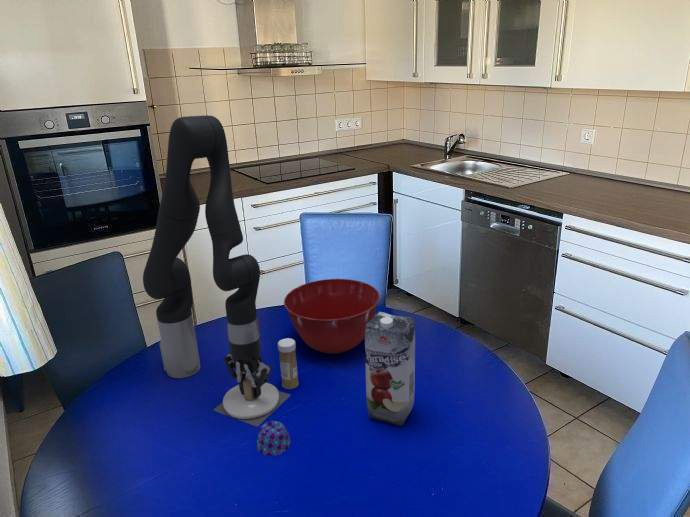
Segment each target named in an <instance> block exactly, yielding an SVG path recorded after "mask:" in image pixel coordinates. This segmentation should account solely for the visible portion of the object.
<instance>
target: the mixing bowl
mask: <svg viewBox="0 0 690 517" xmlns="http://www.w3.org/2000/svg"><path fill="white" fill-rule="evenodd" d="M380 296H381V295H380V292H379V290H378V289H376V287H375V286H373V285H371V284H369V283H367V282H364V281H360V280H355V279H347V278H329V279H326V278H325V279H321V280H314V281H310V282H307V283H304V284H301V285H299V286H297V287H295V288H293V289H291V291H290V292H288V293H287V294H286V296H285V297H284V299H283V305H284V308H285V309H286V310H287V313H288V316H289V318H290V321H291V324H292V325H293V327H294V329H295V330H296V332H297V333H298V335H299V337H300V338H301V339H302V340H303V342H304V343H305V344H306V345H307V346H308V347H309V348H311V349H313V350H315V351H318V352H321V353H322V354H323V353H325V354H341V353H344V352H348V351H351V350H352V349H354V348H355V347H357V346H358V345H359V344H361V343H362V341H363V340H365V325H366V324H367V323H368V322H369V321H370V320H371V319H372V318H373V317H374V316H375V314H376V313H377V312H376V311H377V308H378V304H379V301H380Z"/></svg>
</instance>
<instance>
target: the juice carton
mask: <svg viewBox="0 0 690 517" xmlns="http://www.w3.org/2000/svg"><path fill="white" fill-rule="evenodd" d="M415 326H416V322H415V318H414V317H413V316H412V317H411V316H399V315H393V314H389V313H387V312H383V311H377V312H375V315H374V317H373V318H372V319H371V320H370V321H369V322H368V323H367V324H366V325H365V338H364V352H365V353H364V354H365V389H366V390H365V393H366V394H365V395H366V398H365V399H366V405H367V406H366V407H367V412H368V417H369V418H370V419H373V420H375V421H376V420H377V421H379V422H383V423H384V422H385V423H388V424H391V425H394V426H399V427H403V425H404V424H405V421H406V420H407V418H408V417H409V415H410V413H411V411H412V409H413V406H414V403H415V388H416V386H415V384H416V383H415V380H416V378H415V377H416V375H415V373H416V369H415V368H416V366H415V365H416V331H415V329H416V328H415Z"/></svg>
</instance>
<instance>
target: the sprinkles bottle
mask: <svg viewBox="0 0 690 517" xmlns="http://www.w3.org/2000/svg"><path fill="white" fill-rule="evenodd" d="M296 346H297V344H296V340H294V339H293V338H289V337H287V338H283V339H279V341H278V342H277V349H278V353H279V365H280V366H279V367H280V375H281V383H282V384H281V386H282V387H283V388H284V389H286V390H292V389H295V388H297V387H298V386H299V378H298V364H297V355H296Z"/></svg>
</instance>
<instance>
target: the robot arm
mask: <svg viewBox="0 0 690 517" xmlns="http://www.w3.org/2000/svg"><path fill="white" fill-rule="evenodd" d="M226 136H227V135H226V133H225V128H224V126H223V124H222V122H221V121H220V120H219V119H218V118H217V117H216V116H214V115H208V114H207V115H190V116H181V117H177V118H176V119H175V120H174V121H173V122H172V124H171V126H170V130H169V134H168V144H167V157H166V170H165V176H164V181H163V182H164V184H163V190H162V195H161V198H160V203H159V209H158V213H157V219H156V220H157V221H156V225H155V226H156V227H155V231H154V235H153V241H152V244H151V248H150V252H149V255H148V258H147V260H146V264H145V267H144V270H143V272H142V273H143V274H142V285H143V288H144V289H143V290H145V293H146V294H147V295H148V297H150V298H152V299H153V300H162V301H161V302H160V303H159V305H158V306H157V307H156V311H155V314H156V321H157V326H158V329H159V330H158V331H159V337H160V341H159V348H160V354H161V358H162V363H163V370H164V371H165V372H166V374H167V376H169V377H170V378H172V379H173V378H174V379H184V378H189V377H191V376H193V375H196V374H197V373H198V372H199V371H200V369H201V362H200V355H199V349H198V343H197V335H196V329H195V323H194V318H193V311H192V309H193V304H194V300H193V288H192V279H191V274H190V270H189V268H188V266H187V265H186V263H185V262H184V261H183V260H182V258H179V257H178V256H179V254H180V252H181V251H183V249H184V247H185V246H186V245H187V244H188V242H189V240H190V239H191V238H192V236H193V234H194V232H195V230H196V227H197V223H198V220H199V216H200V210H201V203H200V200H199V197H198V195H197V193H196V191H195V189H194V187H193V184H192V183H191V179H190V178H191V171H192V170H191V169H192V166H193V164H194V163H193V162H194V161H195V160H196V159H198V160H199V159H205V158H206V160H207V162H208V166H209V172H210V173H209V175H210V181H209V187H208V192H207V196H206V201H205V206H204V208H205V210H204V212H205V213H204V214H205V215H204V216H205V221H206V225H207V229H208V231H209V232H208V233H209V237H210V239H211V245H212V276H213V281H214V283H215V285H216V286H217V287H218V288H219V289H220V290H221V291H223V292H230V291H234V290H236V291H235V292H233V293H232V294H230V295H229V296H227V297H226V300H225V303H224V304H225V305H224V306H225V313H226V322H227V324H226V325H227V326H226V330H227V337H228V338H227V339H228V345H229V353H228V354H227V355H226V356H224V357H223V361H224V363H225V366H226V368H227V370H228V372H229V375H230V376H231V378H232V379H236V382H238V385H239V389H240V392H241V394H242V395H244V389H243V380H244V379H245V378H247V377H248V379H250V380H251V384H252V395H253V398H254V399H257V398H258V397H259V396H260V395H261V386H262V385H263V384H265V383H268V379H269V377H270V374H271V371H272V365H271V364H265V363H263V358H262V357H261V352H262V342H261V335H260V334H261V332H260V324H259V320H258V315H257V302H256V300H257V295H258V290H259V289H258V288H259V284H260V279H261V268H260V265H259V262H258V260H257V259H256V258H255V256H253V255H252V254H249V253H248V254H247V253H246V254H241V255H238V256H235V257H231V258H230V253H231V251H232V249H234V248H235V247H238V246H239V245H241V244H242V243H243V241H244V234H243V231H242V230H241V229H242V228H241V224H240V221H239V216H238V212H237V210H236V205H235V199H234V194H233V187H232V186H233V185H232V177H231V168H230V167H231V166H230V160H229V159H230V158H229V149H228V148H229V147H228V142H227V137H226ZM255 379H256V380H255Z"/></svg>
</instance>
